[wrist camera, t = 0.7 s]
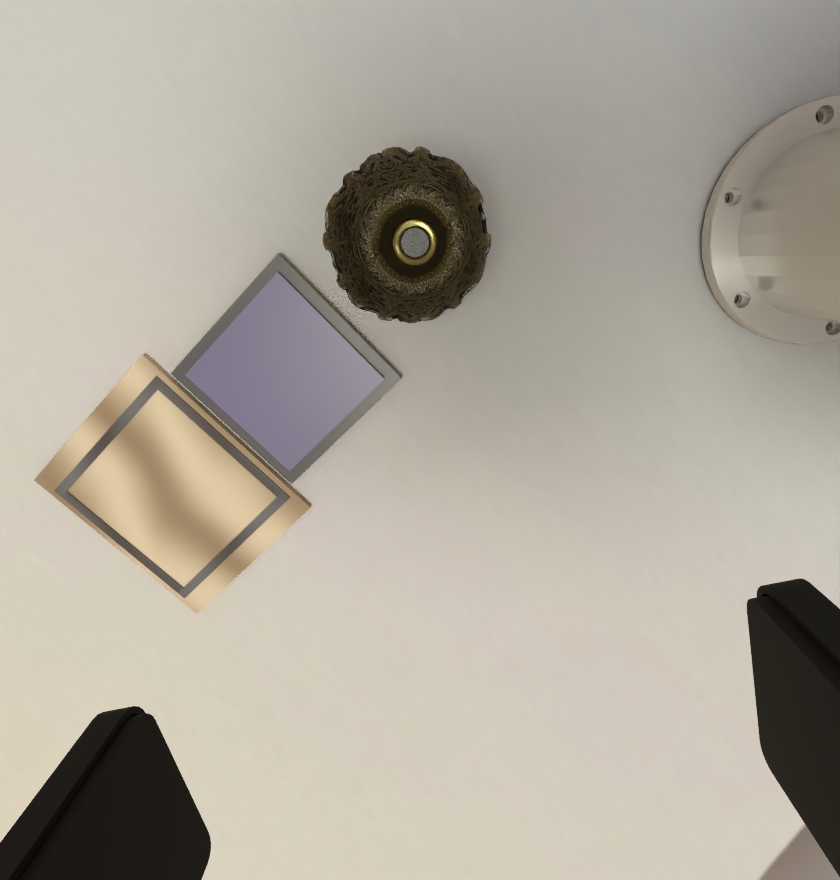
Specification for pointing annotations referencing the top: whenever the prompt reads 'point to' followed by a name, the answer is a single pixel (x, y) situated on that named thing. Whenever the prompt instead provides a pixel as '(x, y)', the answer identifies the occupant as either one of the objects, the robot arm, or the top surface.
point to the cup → (387, 218)
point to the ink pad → (286, 370)
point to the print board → (171, 486)
